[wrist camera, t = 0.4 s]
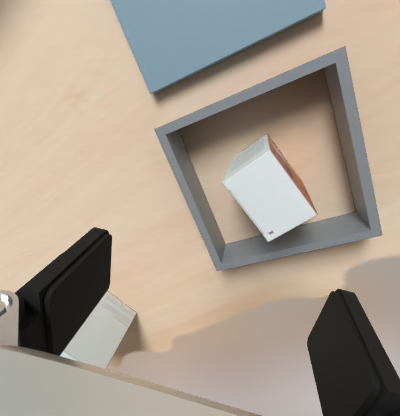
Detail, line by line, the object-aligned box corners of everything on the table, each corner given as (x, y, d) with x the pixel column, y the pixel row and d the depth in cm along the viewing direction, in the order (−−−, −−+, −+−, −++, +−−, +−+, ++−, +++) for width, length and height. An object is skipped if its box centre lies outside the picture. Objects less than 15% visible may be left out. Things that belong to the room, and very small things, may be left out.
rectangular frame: (331, 53, 28) (345, 45, 24) (366, 216, 34) (382, 235, 30) (167, 124, 35) (154, 129, 30) (221, 251, 41) (217, 271, 36)
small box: (303, 181, 34) (320, 216, 25) (265, 204, 36) (268, 244, 27) (267, 131, 33) (271, 147, 23) (230, 158, 35) (220, 183, 25)
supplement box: (106, 288, 49) (60, 348, 37) (138, 313, 50) (102, 378, 38) (88, 308, 52) (41, 369, 41) (118, 330, 53) (80, 396, 41)
